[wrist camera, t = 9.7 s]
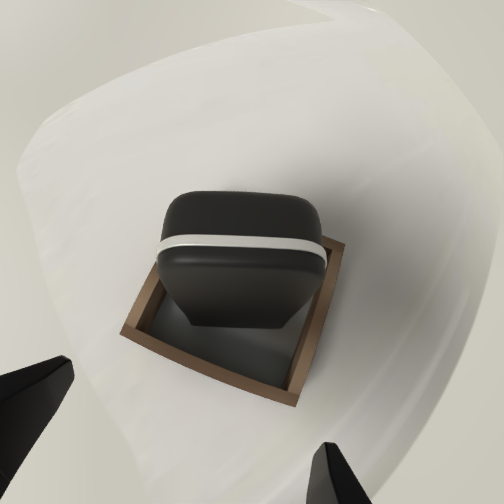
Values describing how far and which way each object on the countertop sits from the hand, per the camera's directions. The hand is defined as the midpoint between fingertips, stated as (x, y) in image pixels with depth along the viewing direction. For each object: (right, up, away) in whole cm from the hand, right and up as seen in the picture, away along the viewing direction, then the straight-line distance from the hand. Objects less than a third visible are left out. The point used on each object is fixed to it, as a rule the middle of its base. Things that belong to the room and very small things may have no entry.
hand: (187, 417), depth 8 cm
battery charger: (+1, +1, +13) cm, 13 cm away
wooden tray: (+1, +1, +14) cm, 14 cm away
